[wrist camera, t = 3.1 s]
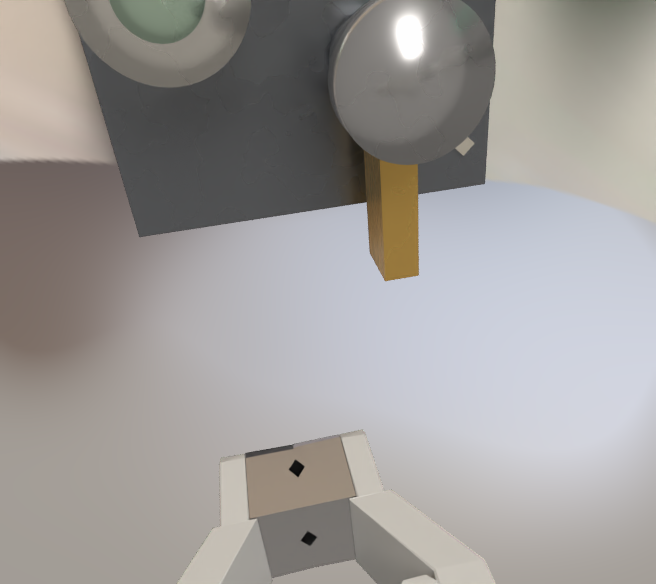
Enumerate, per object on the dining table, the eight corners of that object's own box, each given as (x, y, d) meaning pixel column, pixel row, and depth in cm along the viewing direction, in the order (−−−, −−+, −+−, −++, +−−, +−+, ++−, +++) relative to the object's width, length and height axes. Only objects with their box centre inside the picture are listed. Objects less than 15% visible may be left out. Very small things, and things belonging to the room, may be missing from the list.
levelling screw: (299, -8, 23) (328, 0, 17) (429, -22, 23) (501, -20, 18) (326, 246, 29) (354, 317, 23) (428, 230, 30) (481, 295, 24)
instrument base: (483, -143, 24) (587, -188, 17) (470, 172, 31) (539, 227, 24) (50, -104, 22) (-23, -136, 15) (143, 221, 29) (122, 295, 22)
